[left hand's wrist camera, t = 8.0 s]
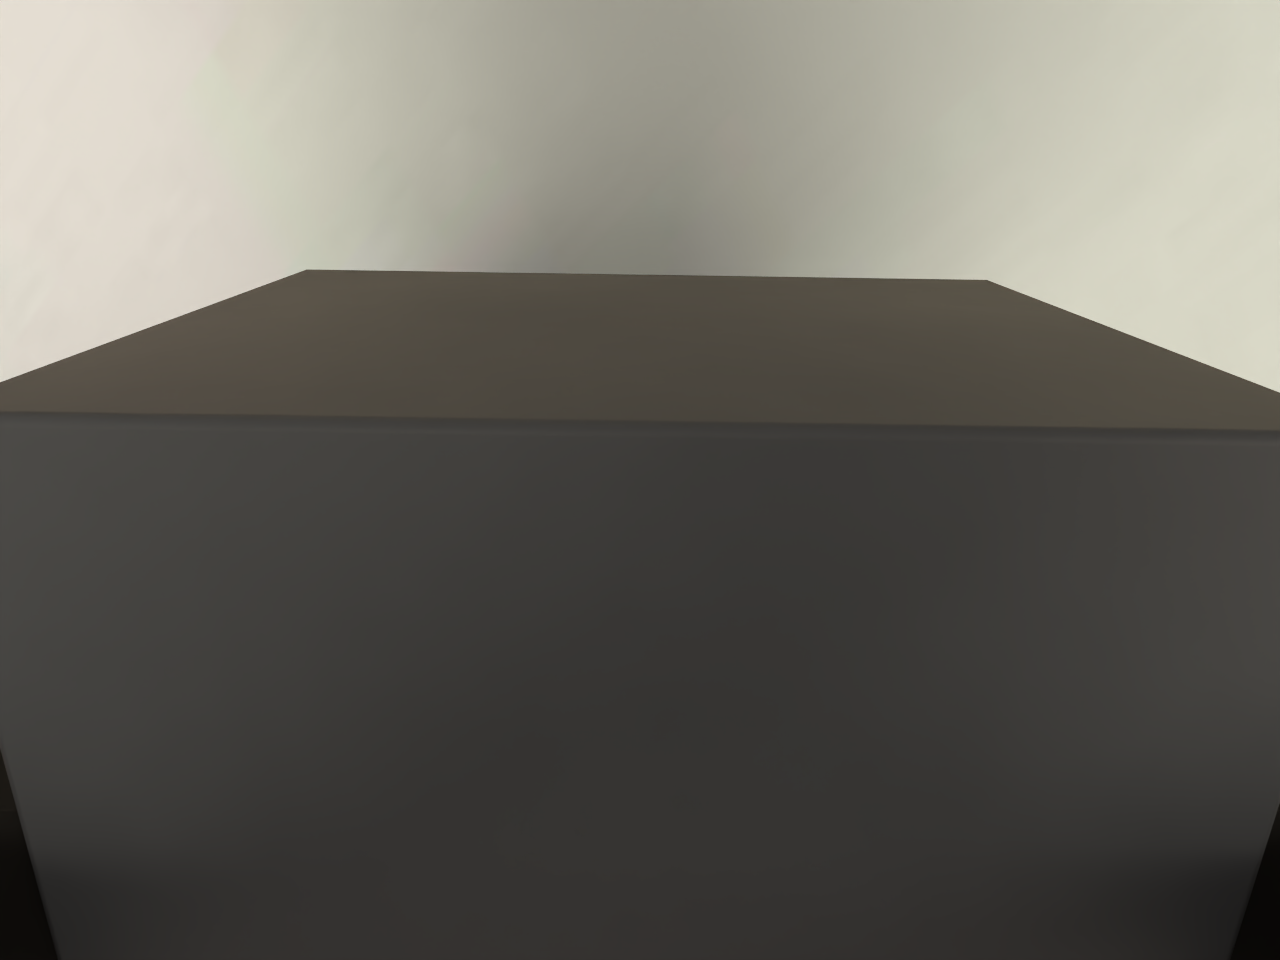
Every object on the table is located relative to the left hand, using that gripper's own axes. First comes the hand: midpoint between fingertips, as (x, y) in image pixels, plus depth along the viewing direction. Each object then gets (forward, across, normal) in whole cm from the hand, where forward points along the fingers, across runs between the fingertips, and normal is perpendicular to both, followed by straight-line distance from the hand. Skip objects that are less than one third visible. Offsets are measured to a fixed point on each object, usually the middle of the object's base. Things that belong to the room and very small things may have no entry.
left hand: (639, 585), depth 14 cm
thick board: (0, 0, -30) cm, 30 cm away
